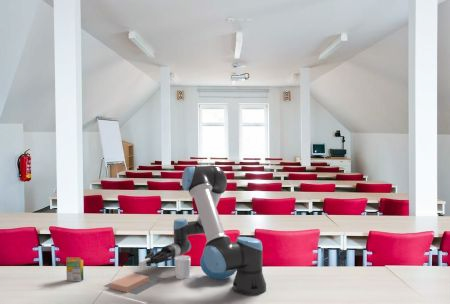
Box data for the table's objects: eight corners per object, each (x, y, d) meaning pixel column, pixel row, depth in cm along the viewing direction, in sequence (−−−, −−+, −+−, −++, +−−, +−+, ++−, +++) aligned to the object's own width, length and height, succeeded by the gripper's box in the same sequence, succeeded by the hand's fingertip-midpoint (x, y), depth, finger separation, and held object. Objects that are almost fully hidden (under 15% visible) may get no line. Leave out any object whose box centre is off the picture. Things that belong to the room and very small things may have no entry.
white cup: (183, 281, 190) (183, 261, 190) (171, 278, 195) (171, 258, 194) (194, 277, 196) (194, 257, 196) (182, 273, 201) (182, 254, 201)
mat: (167, 279, 193) (167, 278, 193) (136, 295, 174) (136, 294, 174) (135, 272, 203) (135, 271, 203) (103, 287, 183) (103, 286, 183)
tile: (149, 276, 189) (126, 287, 176) (149, 281, 189) (126, 292, 176) (133, 273, 194) (110, 282, 181) (133, 278, 194) (110, 288, 181)
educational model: (238, 283, 187) (238, 252, 187) (199, 283, 188) (198, 252, 187) (238, 272, 203) (238, 243, 202) (201, 272, 203) (201, 243, 203)
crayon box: (83, 279, 194) (83, 255, 194) (80, 281, 191) (80, 257, 191) (69, 278, 195) (69, 255, 194) (66, 281, 192) (66, 257, 191)
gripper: (180, 260, 208) (151, 274, 188) (160, 257, 215) (130, 270, 194) (180, 246, 208) (151, 258, 187) (160, 243, 214) (130, 255, 194)
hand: (140, 264), depth 191 cm, fingers closed
